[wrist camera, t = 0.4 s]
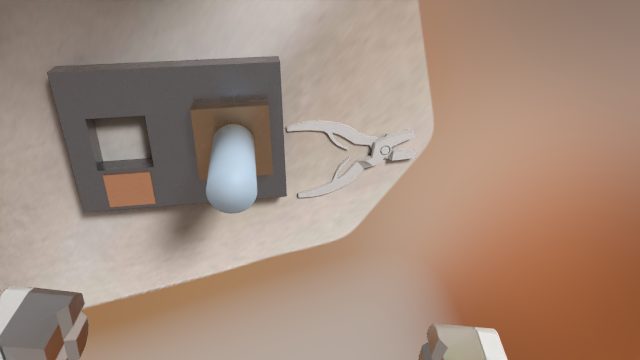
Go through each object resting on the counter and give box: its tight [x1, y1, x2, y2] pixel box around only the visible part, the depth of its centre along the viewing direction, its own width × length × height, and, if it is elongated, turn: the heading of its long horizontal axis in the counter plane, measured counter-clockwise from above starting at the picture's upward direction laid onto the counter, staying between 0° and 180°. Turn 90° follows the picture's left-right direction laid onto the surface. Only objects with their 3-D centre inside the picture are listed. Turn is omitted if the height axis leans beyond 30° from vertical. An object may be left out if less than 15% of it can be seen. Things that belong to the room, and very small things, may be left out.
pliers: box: [287, 120, 416, 198], centre depth 60 cm, size 10×2×15 cm
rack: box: [47, 56, 287, 212], centre depth 55 cm, size 16×23×4 cm
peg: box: [206, 124, 257, 213], centre depth 48 cm, size 4×4×11 cm
